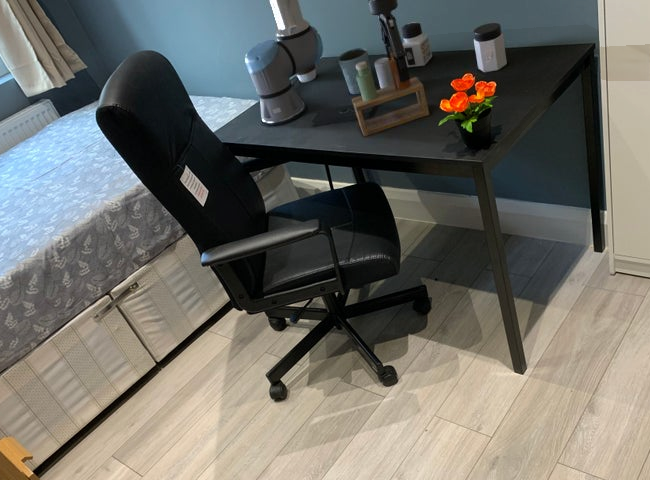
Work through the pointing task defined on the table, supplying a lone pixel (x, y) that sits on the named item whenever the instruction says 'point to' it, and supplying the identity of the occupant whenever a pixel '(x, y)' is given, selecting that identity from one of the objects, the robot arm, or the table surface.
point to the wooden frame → (396, 116)
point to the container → (415, 45)
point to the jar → (489, 47)
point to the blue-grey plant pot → (353, 66)
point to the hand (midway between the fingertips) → (400, 73)
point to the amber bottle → (396, 72)
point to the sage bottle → (365, 82)
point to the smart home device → (340, 114)
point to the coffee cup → (307, 74)
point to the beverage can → (384, 72)
